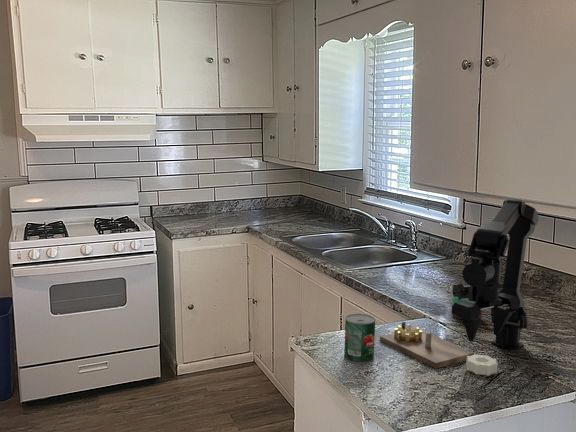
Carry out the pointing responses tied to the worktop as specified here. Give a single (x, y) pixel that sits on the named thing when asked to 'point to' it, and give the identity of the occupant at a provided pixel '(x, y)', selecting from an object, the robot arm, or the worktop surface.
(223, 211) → the worktop surface
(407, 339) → the gear
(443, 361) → the gear board
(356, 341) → the canned tomato
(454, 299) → the food container
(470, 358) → the loose gear
